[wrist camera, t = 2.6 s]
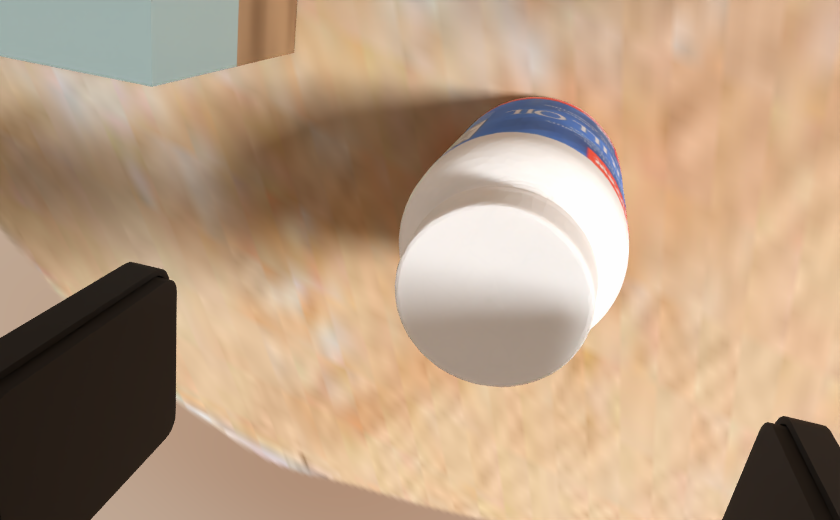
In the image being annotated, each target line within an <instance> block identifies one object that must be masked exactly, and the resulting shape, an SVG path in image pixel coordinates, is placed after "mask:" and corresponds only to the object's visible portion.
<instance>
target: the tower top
mask: <svg viewBox="0 0 840 520" xmlns="http://www.w3.org/2000/svg"><path fill="white" fill-rule="evenodd" d="M238 11H239V0H0V56H2V57H7V58H12V59H17V60H22V61H27V62H32V63H37V64H42V65H47V66H52V67H57V68H62V69H67V70H72V71H77V72H82V73H87V74H92V75H97V76H102V77H107V78H112V79H117V80H122V81H127V82H132V83H136V84H141V85H146V86H151V87H153V86H157V85H161V84H166V83H170V82H174V81H178V80H182V79H186V78H190V77H195V76H199V75H203V74H207V73H211V72H215V71H220V70H224V69H228V68H232V67H236V66H237V43H238Z"/></svg>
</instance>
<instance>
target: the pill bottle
mask: <svg viewBox="0 0 840 520" xmlns="http://www.w3.org/2000/svg"><path fill="white" fill-rule="evenodd" d="M399 253H400V261H399V264H398V267H397V273H396V280H395V298H396V304H397V310H398V313H399V316H400V319H401V322H402V324H403V326H404V328H405V330H406V332H407V334H408V336H409V337H410V339H411V340H412V342H413V343H414V344H415V346H416V347H417V348H418V349H419V350H420V352H421V353H422V354H423V355H424V356H425V357H427V358H428V359H429V360H430V361H431V362H433V363H434V364H435V365H436V366H437V367H439V368H440V369H442V370H444V371H446V372H447V373H449V374H451V375H453V376H455V377H457V378H460V379H462V380H465V381H468V382H471V383H475V384H479V385H486V386H495V387H511V386H516V385H523V384H528V383H531V382H534V381H537V380H540V379H542V378H544V377H546V376H549V375H551V374H552V373H554V372H555V371H557V370H559V369H560V368H561V367H562V366H564V365H565V364H566V363H567V362H568V361H569V360H571V359H572V358H573V356H574V355H575V354H576V352H577V351H578V350H579V349H580V347H581V346H582V345H583V343H584V341H585V339H586V337H587V335H588V333H589V331H590V329H591V328H592V327H594V326H595V325H596V324H597V323H598V322H599V321H600V320H601V318H602V317H603V316H604V315H605V314H606V313H607V311H608V310H609V308H610V307H611V306H612V304H613V303H614V301H615V299H616V297H617V295H618V294H619V291H620V289H621V287H622V284H623V281H624V278H625V274H626V270H627V265H628V256H629V231H628V222H627V215H626V205H625V200H624V191H623V184H622V175H621V168H620V163H619V159H618V156H617V153H616V150H615V148H614V146H613V144H612V142H611V140H610V138H609V137H608V135H607V134H606V132H605V131H604V129H603V128H602V127H601V126H600V125H599V124H598V122H597V121H596V120H595V119H593V118H592V117H591V116H590V115H589V114H587V113H586V112H585V111H583V110H582V109H580V108H578V107H576V106H574V105H572V104H570V103H568V102H565V101H562V100H559V99H554V98H547V97H525V98H519V99H515V100H511V101H508V102H506V103H503V104H501V105H499V106H497V107H495V108H493V109H491V110H489V111H488V112H486V113H485V114H483V115H482V116H481V117H480V118H478V119H477V120H476V121H475V122H474V123H473V124H472V125H471V126H470V127H469V128H468V129H467V130H466V131H465V133H464V134H463V135H462V136H461V137H460V138H459V139H458V140H457V141H456V142H455V143H454V144H453V145H452V146H451V147H450V148H449V149H448V150H447V151H446V152H445V153H444V154H443V155H442V156H441V157H440V158H439V159H438V160H437V161H436V162H435V163H434V164H433V165H432V166H431V167H430V168H429V169H428V171H427V172H426V173H425V175H424V176H423V177H422V178H421V180H420V181H419V182H418V184H417V185H416V187H415V188H414V190H413V192H412V193H411V195H410V197H409V200H408V202H407V204H406V207H405V210H404V213H403V216H402V220H401V225H400V233H399Z"/></svg>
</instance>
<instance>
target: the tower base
mask: <svg viewBox="0 0 840 520" xmlns="http://www.w3.org/2000/svg"><path fill="white" fill-rule="evenodd" d="M296 13H297V0H239V11H238V43H237V66H240V65H245V64H249V63H253V62H257V61H261V60H265V59H270V58H274V57H278V56H282V55H286V54H290V53H294V44H295V28H296Z"/></svg>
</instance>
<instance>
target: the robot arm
mask: <svg viewBox="0 0 840 520" xmlns="http://www.w3.org/2000/svg"><path fill="white" fill-rule="evenodd" d="M176 309H177V290H176V285H175V282H174V281H172V280H169V277H168V274H167V272H166V271H165V270H163V269H159V268H155V267H151V266H146V265H142V264H138V263H133V262H129V263H126V264H124V265H122V266H121V267H119V268H117V269H116V270H114V271H112V272H111V273H109V274H107V275H105V276H104V277H102V278H100V279H99V280H97V281H95V282H94V283H92V284H90V285H89V286H87V287H85V288H84V289H82V290H80V291H79V292H77V293H75V294H74V295H72V296H70V297H68V298H67V299H65V300H63V301H62V302H60V303H58V304H57V305H55V306H53V307H52V308H50V309H48V310H47V311H45V312H43V313H42V314H40V315H38V316H37V317H35V318H33V319H31V320H30V321H28V322H26V323H25V324H23V325H21V326H20V327H18V328H17V329H15V330H13V331H11V332H10V333H8V334H6V335H5V336H3V337H1V338H0V520H91V519H92V517H93V516H94V515H95V514H96V513H97V512H98V511H99V510H100V509H101V508H102V506H104V505H105V503H106V502H107V501H108V500H109V499H110V498H111V497H112V496H113V495H114V494H115V493H116V491H118V489H119V488H120V487H121V486H122V485H123V484H124V483H125V482H126V481H127V480H128V479H129V477H130V476H131V475H132V474H133V473H134V472H135V471H136V470H137V469H138V468H139V467H140V466H141V465H142V463H143V462H144V461H145V460H146V459H147V458H148V457H149V456H150V455H151V454H152V453H153V452H154V450H155V449H156V448H157V447H158V446H159V445H160V444H161V443H162V442H163V441H164V440H165V439H166V437H167V436H168V435H169V433H170V431H171V430H172V427H173V424H174V421H175V411H176ZM722 520H840V447H839V445H838V443H837V442H836V440H835V438H834V436H833V435H832V433H831V431H830V430H829V429H828V428H827V427H826V426H823V425H820V424H815V423H811V422H807V421H803V420H798V419H794V418H790V417H786V416H783V417H780V418H779V419H778V420H777V421H776V422H775V424H773V423H769V422H767V423H765V424H764V425H763V426H762V427H761V429H760V431H759V433H758V436H757V438H756V440H755V443H754V445H753V448H752V450H751V452H750V455H749V457H748V460H747V462H746V464H745V467H744V469H743V471H742V474H741V476H740V479H739V481H738V483H737V486H736V488H735V491H734V493H733V495H732V498H731V500H730V503H729V505H728V507H727V510H726V512H725V515H724V517H723V519H722Z"/></svg>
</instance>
